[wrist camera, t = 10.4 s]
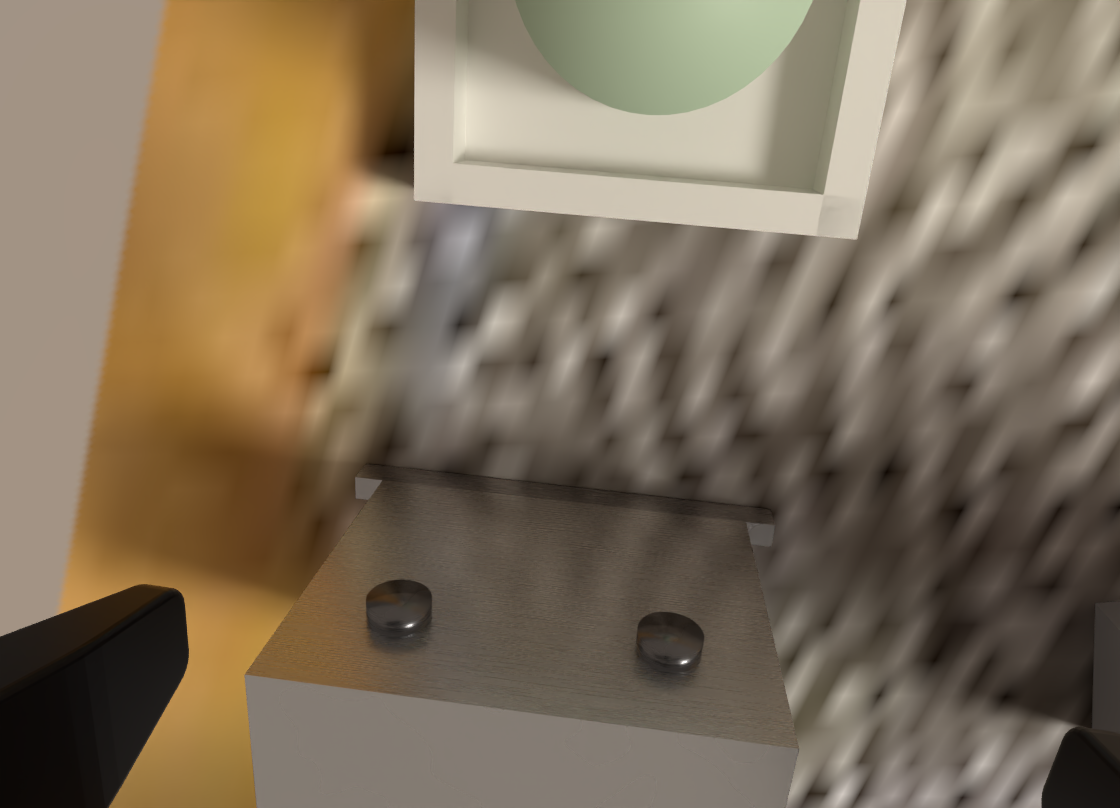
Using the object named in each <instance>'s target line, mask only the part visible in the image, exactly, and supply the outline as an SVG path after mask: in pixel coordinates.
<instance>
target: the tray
mask: <svg viewBox="0 0 1120 808" xmlns="http://www.w3.org/2000/svg"><path fill="white" fill-rule="evenodd" d="M905 5H906V0H813V1H812V4H811V6H810V8H809V10H808V12H807V14H806V16H805V18H804V20H803V22H802V24H801V26H800V27H799V29H798V30H797V32H796V34H795V35H794V37H793V38H792V40H791V42H790V43H789V44H788V45H787V47H786V48H785V49H784V50H783V52H782V53H781V54H780V55H779V57H778V58H777V59H776V60H775V61H774V62H773V63H772V64H771V65H770V66H769V67H768V68H767V69H766V70H765V71H764V72H763V73H762V74H761V75H760V76H759V77H757V78H756V79H755V80H753V81H752V82H751V83H749V84H748V85H747V86H746V87H744V88H743V89H741V90H739V91H738V92H736V93H734V94H733V95H731V96H729V97H728V98H726V99H724V100H721V101H719V102H717V103H714V104H712V105H710V106H707V107H704V108H701V109H697V110H694V111H690V112H686V113H679V114H671V115H644V114H637V113H630V112H626V111H622V110H619V109H615V108H612V107H609V106H607V105H604V104H602V103H600V102H598V101H595V100H593V99H591V98H590V97H588V96H587V95H585V94H583V93H582V92H580V91H578V90H577V89H575V88H574V87H573V86H572V85H571V84H569V83H568V82H567V81H566V80H565V79H563V78H562V77H561V76H560V75H559V74H558V73H557V72H556V71H555V70H554V69H553V68H552V66H551V65H550V64H549V63H548V62H547V61H546V60H545V58H544V57H543V55H542V54H541V53H540V51H539V50H538V48H537V47H536V46H535V44H534V42H533V40H532V39H531V37H530V35H529V33H528V31H527V29H526V27H525V26H524V23H523V20H522V18H521V15H520V13H519V10H518V8H517V5H516V1H515V0H415V92H414V201H425V202H436V203H447V204H459V205H470V206H482V207H493V208H504V209H516V210H527V211H539V212H550V213H561V214H573V215H584V216H595V217H607V218H618V219H630V220H641V221H652V222H664V223H675V224H686V225H698V226H709V227H721V228H732V229H743V230H755V231H766V232H777V233H789V234H800V235H812V236H823V237H834V238H846V239H857V236H858V231H859V227H860V222H861V217H862V212H863V207H864V203H865V198H866V193H867V188H868V183H869V178H870V174H871V169H872V164H873V159H874V154H875V149H876V145H877V140H878V135H879V130H880V125H881V121H882V116H883V111H884V106H885V101H886V96H887V92H888V87H889V82H890V77H891V72H892V68H893V63H894V58H895V53H896V48H897V43H898V39H899V34H900V29H901V24H902V19H903V14H904V10H905Z"/></svg>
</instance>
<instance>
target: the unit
mask: <svg viewBox="0 0 1120 808" xmlns="http://www.w3.org/2000/svg"><path fill="white" fill-rule="evenodd" d="M355 491H356V499H365V500H368V501H367V503H366V504H365V506H364V507H363V508H362V510H361V511H360V513H359V514H358V515H357V517H356V518H355V520H354V521H353V522H352V524H351V525H350V527H349V528H348V530H347V531H346V532H345V534H344V535H343V537H342V538H341V539H340V541H339V542H338V544H337V545H336V546H335V548H334V549H333V551H332V552H331V554H330V555H329V556H328V558H327V559H326V561H325V562H324V563H323V565H322V566H321V568H320V569H319V570H318V572H317V573H316V575H315V576H314V577H313V579H312V580H311V582H310V583H309V585H308V586H307V587H306V589H305V590H304V592H303V593H302V594H301V596H300V597H299V599H298V600H297V601H296V603H295V604H294V606H293V607H292V608H291V610H290V611H289V613H288V614H287V616H286V617H285V618H284V620H283V621H282V623H281V624H280V625H279V627H278V628H277V630H276V631H275V632H274V634H273V635H272V637H271V638H270V639H269V641H268V642H267V644H266V645H265V647H264V648H263V649H262V651H261V652H260V654H259V655H258V656H257V658H256V659H255V661H254V662H253V663H252V665H251V666H250V668H249V669H248V670H247V672H246V673H245V684H246V695H247V706H248V717H249V728H250V739H251V750H252V761H253V772H254V783H255V794H256V805H257V808H785V807H786V803H787V799H788V795H789V790H790V786H791V782H792V778H793V773H794V769H795V765H796V761H797V756H798V752H799V746H798V742H797V737H796V733H795V729H794V725H793V720H792V716H791V712H790V708H789V703H788V699H787V695H786V690H785V686H784V682H783V678H782V673H781V669H780V665H779V661H778V656H777V652H776V648H775V643H774V639H773V635H772V631H771V626H770V622H769V618H768V614H767V609H766V605H765V601H764V597H763V592H762V588H761V584H760V579H759V575H758V571H757V567H756V562H755V558H754V554H753V550H752V545H760V546H769V547H771V545H772V540H773V535H774V530H775V522H774V519H773V516H772V513H771V509H763V508H754V507H745V506H736V505H727V504H719V503H710V502H701V501H692V500H683V499H674V498H665V497H657V496H648V495H639V494H630V493H621V492H612V491H604V490H595V489H586V488H577V487H568V486H559V485H550V484H542V483H533V482H524V481H515V480H506V479H497V478H489V477H480V476H471V475H462V474H453V473H444V472H435V471H427V470H418V469H409V468H400V467H391V466H382V465H373V464H365V465H364V467H363V468H362V469H361V470H360V472H359V473H358V474H357V475H356V477H355ZM751 544H752V545H751Z"/></svg>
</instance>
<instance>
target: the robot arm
mask: <svg viewBox="0 0 1120 808" xmlns="http://www.w3.org/2000/svg"><path fill="white" fill-rule="evenodd" d="M188 658H189V648H188V636H187V624H186V612H185V603H184V598H183V596H182V594H181V593H180V592H179V591H178V590H176V589H174V588H168V587H161V586H155V585H148V584H141V585H136V586H134V587H131V588H128V589H126V590H123V591H120V592H118V593H115V594H112V595H110V596H107V597H104V598H102V599H99V600H96V601H94V602H91V603H88V604H86V605H83V606H80V607H78V608H75V609H72V610H70V611H67V612H64V613H62V614H59V615H56V616H54V617H51V618H49V619H46V620H43V621H41V622H38V623H36V624H33V625H30V626H27V627H25V628H22V629H19V630H17V631H14V632H12V633H9V634H6V635H4V636H1V637H0V808H109V806H110V804H111V803H112V801H113V799H114V798H115V796H116V794H117V793H118V791H119V789H120V788H121V786H122V784H123V782H124V781H125V779H126V777H127V775H128V774H129V772H130V770H131V768H132V767H133V765H134V763H135V761H136V760H137V758H138V756H139V754H140V752H141V751H142V749H143V747H144V745H145V744H146V742H147V740H148V738H149V737H150V735H151V733H152V731H153V730H154V728H155V726H156V724H157V722H158V721H159V719H160V717H161V715H162V714H163V712H164V710H165V708H166V707H167V705H168V703H169V701H170V700H171V698H172V696H173V694H174V692H175V691H176V689H177V687H178V685H179V684H180V682H181V680H182V678H183V676H184V674H185V671H186V668H187V664H188ZM1042 808H1120V734H1119V733H1116V732H1111V731H1105V730H1098V729H1092V728H1085V727H1075V728H1072V729H1070V730H1069V731H1068V732H1067V733H1066V734H1065V736H1064V738H1063V740H1062V742H1061V745H1060V747H1059V750H1058V752H1057V755H1056V757H1055V760H1054V762H1053V765H1052V768H1051V770H1050V773H1049V775H1048V778H1047V780H1046V783H1045V785H1044V788H1043V792H1042Z"/></svg>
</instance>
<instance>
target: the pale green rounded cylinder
mask: <svg viewBox="0 0 1120 808" xmlns="http://www.w3.org/2000/svg"><path fill="white" fill-rule="evenodd" d="M515 1H516V5H517V8H518V10H519V13H520V15H521V18H522V20H523V23H524V26H525V27H526V29H527V31H528V33H529V35H530V37H531V39H532V40H533V42H534V44H535V46H536V47H537V48H538V50H539V51H540V53H541V54H542V55H543V57H544V58H545V60H546V61H547V62H548V63H549V64H550V65H551V66H552V68H553V69H554V70H555V71H556V72H557V73H558V74H559V75H560V76H561V77H562V78H563V79H565V80H566V81H567V82H568V83H569V84H571V85H572V86H573V87H574V88H575V89H577V90H578V91H580V92H582V93H583V94H585V95H587V96H588V97H590V98H591V99H593V100H595V101H598V102H600V103H602V104H604V105H607V106H609V107H612V108H615V109H619V110H622V111H626V112H630V113H637V114H644V115H671V114H679V113H686V112H690V111H694V110H697V109H701V108H704V107H707V106H710V105H712V104H714V103H717V102H719V101H721V100H724V99H726V98H728V97H729V96H731V95H733V94H734V93H736V92H738V91H739V90H741V89H743V88H744V87H746V86H747V85H748V84H749V83H751V82H752V81H753V80H755V79H756V78H757V77H759V76H760V75H761V74H762V73H763V72H764V71H765V70H766V69H767V68H768V67H769V66H770V65H771V64H772V63H773V62H774V61H775V60H776V59H777V58H778V57H779V55H780V54H781V53H782V52H783V50H784V49H785V48H786V47H787V45H788V44H789V43H790V42H791V40H792V38H793V37H794V35H795V34H796V32H797V30H798V29H799V27H800V26H801V24H802V22H803V20H804V18H805V16H806V14H807V12H808V10H809V8H810V6H811V4H812V1H813V0H515Z"/></svg>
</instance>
